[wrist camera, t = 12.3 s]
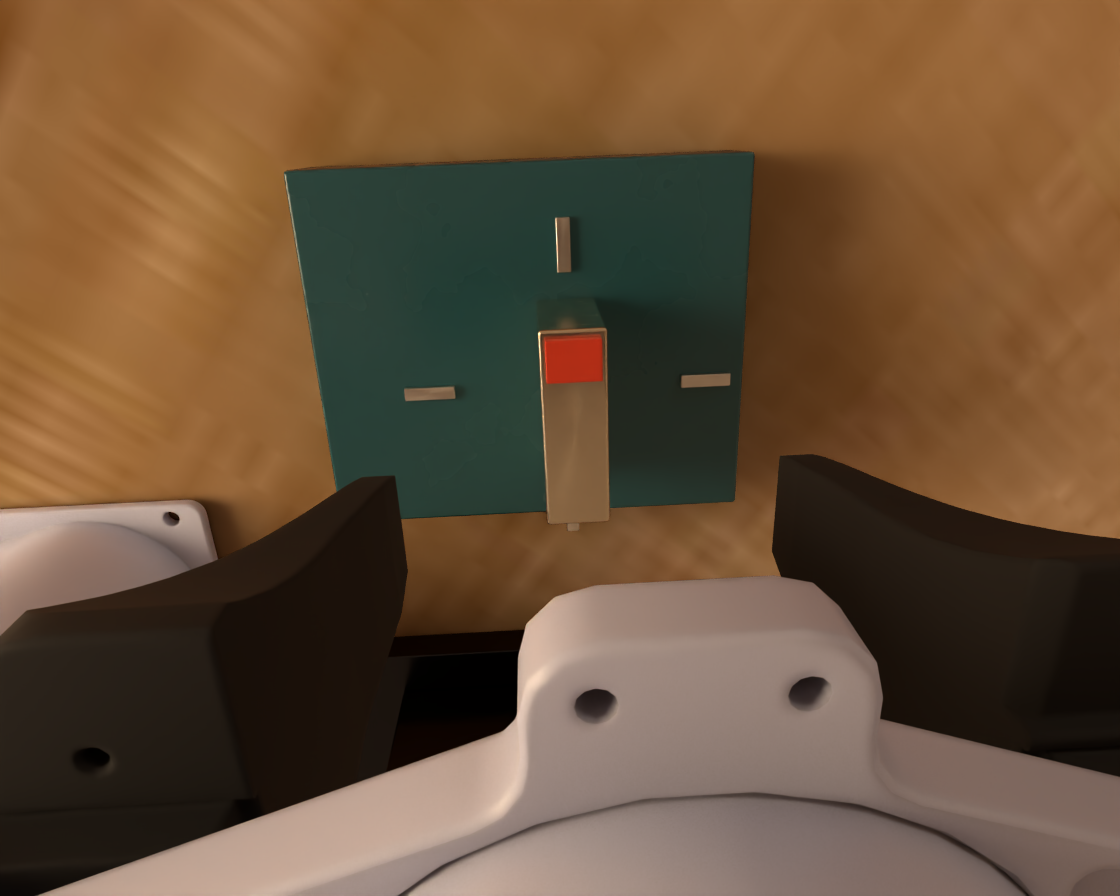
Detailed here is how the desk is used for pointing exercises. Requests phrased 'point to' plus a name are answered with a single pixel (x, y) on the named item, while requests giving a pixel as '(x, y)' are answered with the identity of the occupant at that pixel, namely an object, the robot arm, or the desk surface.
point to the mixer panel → (525, 319)
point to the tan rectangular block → (574, 409)
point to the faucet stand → (440, 697)
